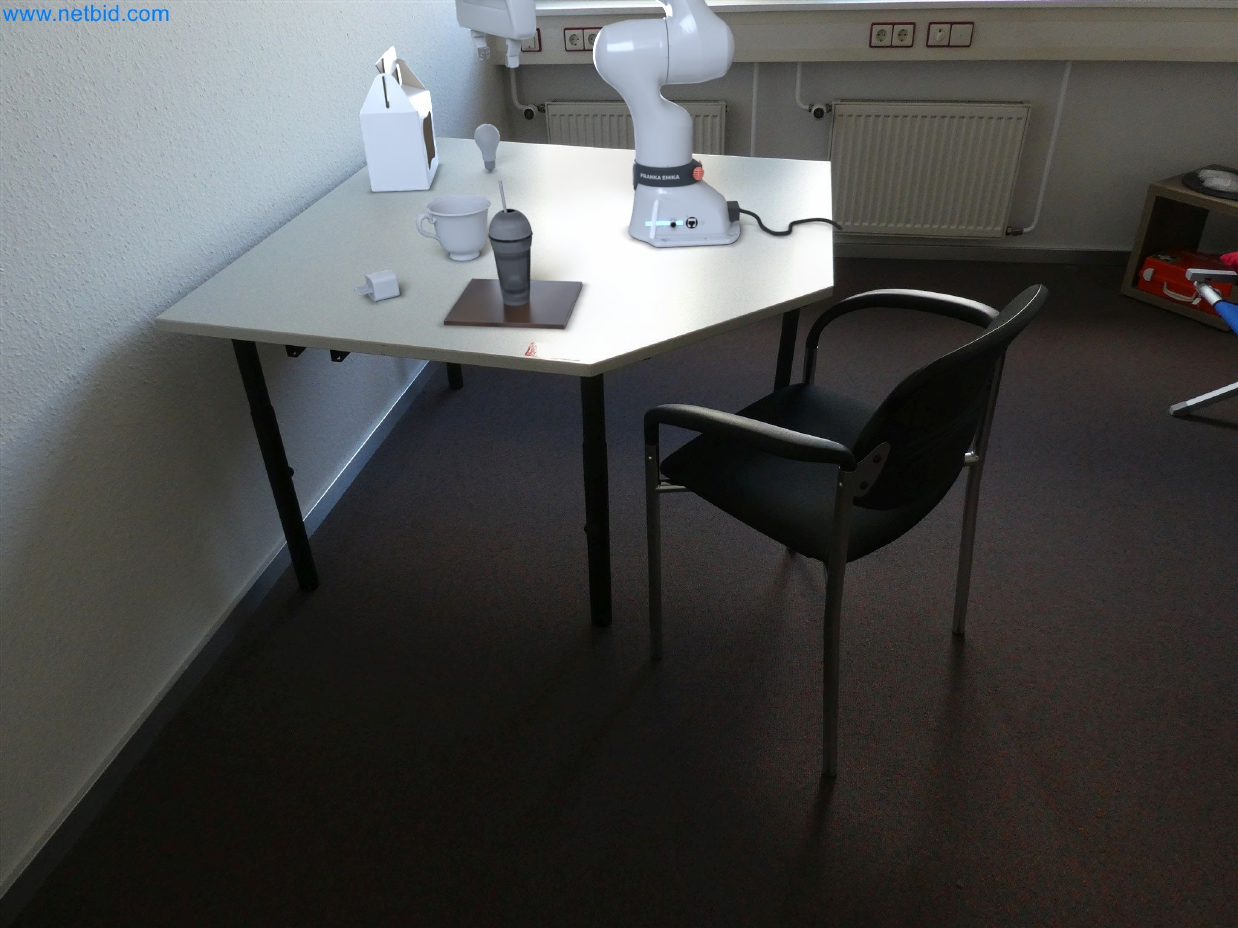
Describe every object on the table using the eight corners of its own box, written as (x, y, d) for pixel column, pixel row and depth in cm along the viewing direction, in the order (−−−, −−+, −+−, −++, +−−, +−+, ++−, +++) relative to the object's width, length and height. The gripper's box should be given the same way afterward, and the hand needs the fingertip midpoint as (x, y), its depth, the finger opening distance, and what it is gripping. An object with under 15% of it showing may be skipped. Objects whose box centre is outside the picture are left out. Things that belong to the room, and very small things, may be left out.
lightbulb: (501, 174, 219) (497, 127, 213) (476, 174, 219) (471, 127, 213) (504, 167, 224) (500, 121, 218) (479, 167, 224) (475, 121, 218)
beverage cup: (520, 312, 149) (510, 191, 138) (486, 303, 152) (473, 185, 141) (546, 297, 154) (538, 179, 143) (512, 288, 157) (501, 173, 146)
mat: (582, 285, 160) (582, 281, 160) (564, 329, 145) (564, 324, 145) (472, 282, 162) (471, 278, 162) (444, 325, 148) (443, 320, 147)
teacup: (408, 258, 173) (400, 206, 168) (476, 240, 181) (470, 190, 175) (438, 276, 165) (430, 222, 160) (507, 256, 173) (503, 205, 167)
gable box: (386, 166, 227) (366, 45, 212) (439, 164, 228) (423, 43, 212) (371, 192, 209) (349, 62, 193) (429, 190, 209) (411, 60, 194)
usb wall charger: (400, 297, 158) (396, 275, 155) (361, 306, 155) (357, 284, 152) (391, 289, 160) (388, 268, 158) (354, 298, 157) (349, 277, 155)
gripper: (441, -35, 147) (451, 57, 155) (504, -26, 134) (512, 74, 141) (475, -37, 151) (483, 52, 158) (540, -29, 137) (546, 69, 144)
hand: (497, 63), depth 150 cm, fingers open, 8 cm apart
